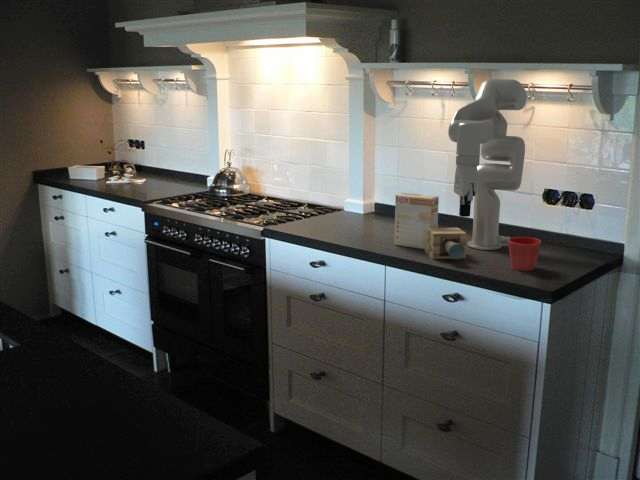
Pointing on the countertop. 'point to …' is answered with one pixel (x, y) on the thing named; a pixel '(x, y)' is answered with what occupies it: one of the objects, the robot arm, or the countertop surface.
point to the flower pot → (523, 252)
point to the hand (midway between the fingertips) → (464, 216)
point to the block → (436, 241)
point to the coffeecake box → (414, 218)
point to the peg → (453, 249)
